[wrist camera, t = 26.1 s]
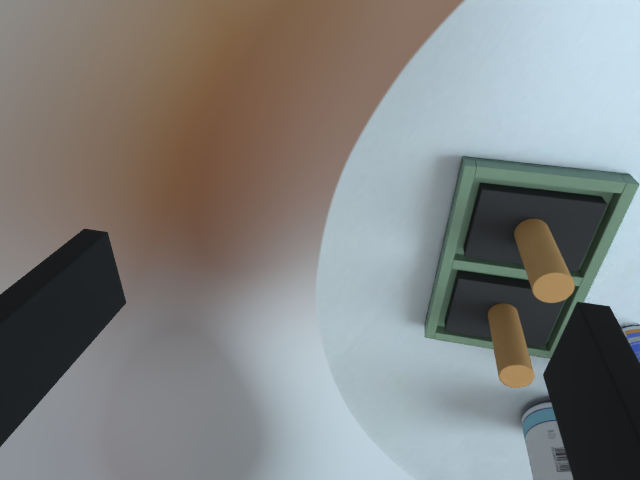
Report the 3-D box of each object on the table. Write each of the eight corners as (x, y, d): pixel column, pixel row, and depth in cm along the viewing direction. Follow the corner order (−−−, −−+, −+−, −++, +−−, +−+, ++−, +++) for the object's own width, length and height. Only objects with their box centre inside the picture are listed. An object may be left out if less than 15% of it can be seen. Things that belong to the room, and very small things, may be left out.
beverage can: (510, 423, 55) (529, 524, 45) (535, 388, 51) (562, 491, 41) (565, 439, 55) (596, 545, 45) (594, 406, 51) (636, 514, 41)
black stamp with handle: (479, 182, 39) (494, 238, 31) (601, 196, 37) (649, 258, 29) (463, 248, 42) (471, 313, 35) (573, 263, 41) (608, 334, 33)
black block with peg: (457, 269, 44) (464, 336, 36) (563, 284, 42) (595, 358, 35) (444, 321, 48) (448, 392, 40) (541, 337, 46) (565, 414, 38)
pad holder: (462, 156, 39) (464, 164, 37) (630, 174, 37) (640, 184, 35) (424, 325, 49) (424, 337, 48) (552, 346, 47) (556, 359, 46)
